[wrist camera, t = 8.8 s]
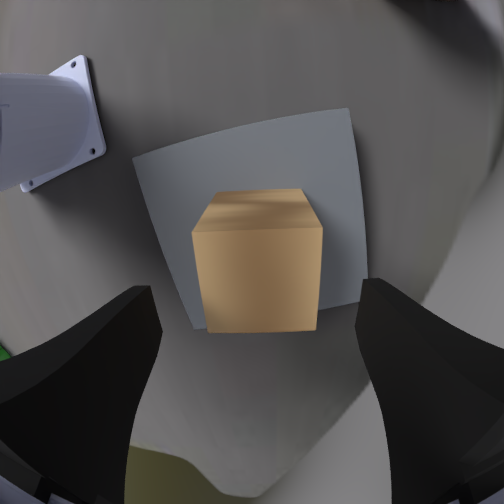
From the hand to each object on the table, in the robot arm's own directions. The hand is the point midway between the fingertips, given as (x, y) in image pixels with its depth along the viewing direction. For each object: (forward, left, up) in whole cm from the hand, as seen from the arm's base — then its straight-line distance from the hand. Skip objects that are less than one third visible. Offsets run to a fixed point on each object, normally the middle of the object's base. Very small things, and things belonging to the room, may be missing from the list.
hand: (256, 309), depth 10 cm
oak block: (0, 0, -7) cm, 7 cm away
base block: (0, 0, -10) cm, 10 cm away
